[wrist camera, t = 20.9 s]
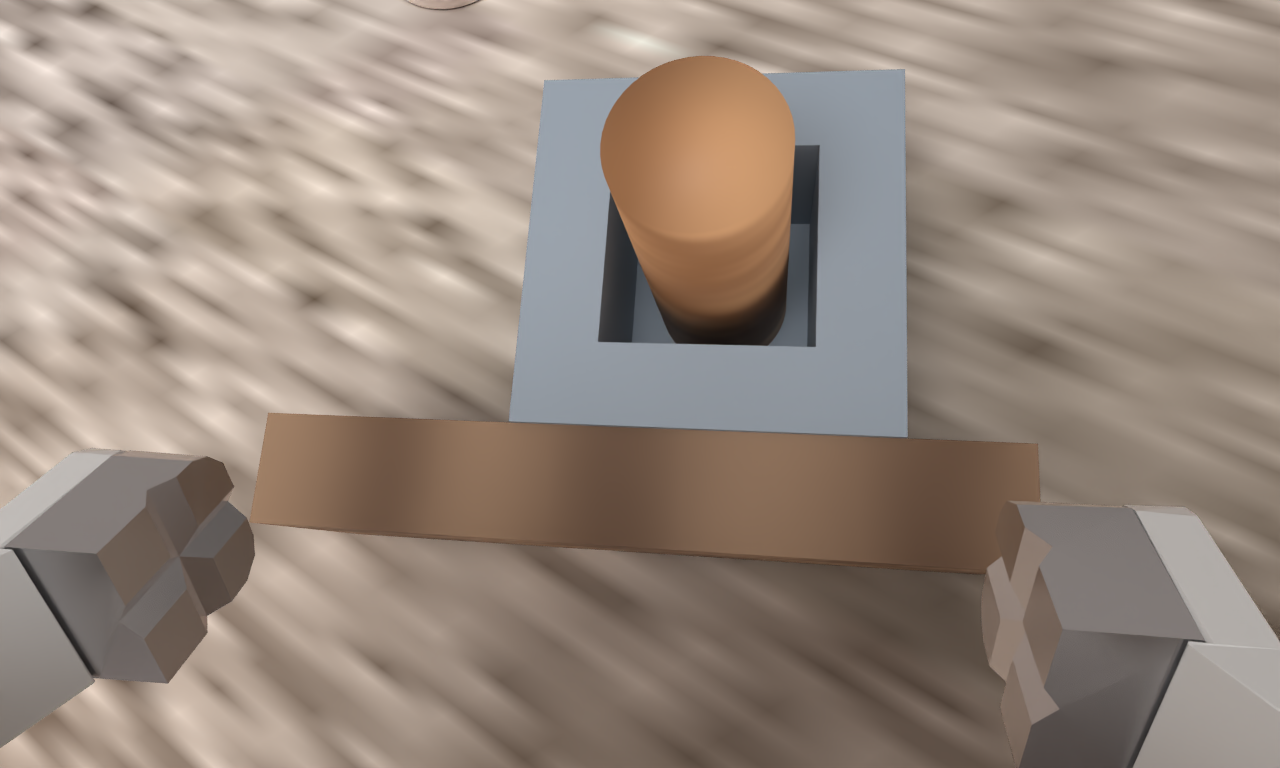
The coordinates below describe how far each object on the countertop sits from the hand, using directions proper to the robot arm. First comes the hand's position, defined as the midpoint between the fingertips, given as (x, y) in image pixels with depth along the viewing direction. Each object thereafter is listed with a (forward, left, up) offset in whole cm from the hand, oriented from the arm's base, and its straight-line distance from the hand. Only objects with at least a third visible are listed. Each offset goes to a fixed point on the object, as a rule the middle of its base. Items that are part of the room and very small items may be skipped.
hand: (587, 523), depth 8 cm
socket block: (0, -8, -17) cm, 19 cm away
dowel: (0, -8, -16) cm, 18 cm away
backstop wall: (+2, -2, -18) cm, 18 cm away
